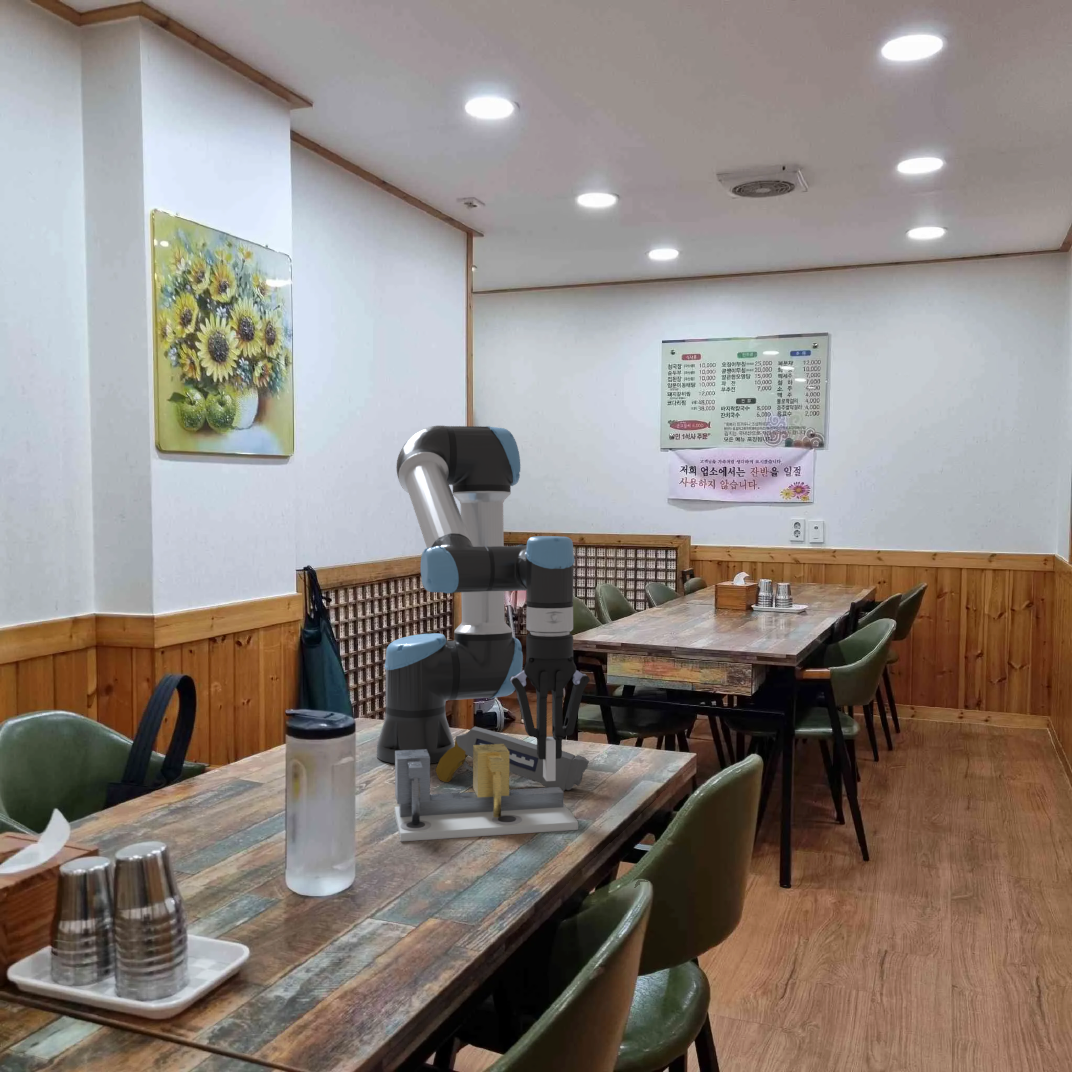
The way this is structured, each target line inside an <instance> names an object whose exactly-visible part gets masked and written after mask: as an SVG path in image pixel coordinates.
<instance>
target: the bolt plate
mask: <svg viewBox="0 0 1072 1072" xmlns="http://www.w3.org/2000/svg"><path fill="white" fill-rule="evenodd" d="M394 817H395V822H396V826H397V831H398V836H399V840H400V842H412V841H413V842H414V841H426V840H445V839H457V838H459V839H460V838H474V837H487V836H488V837H489V836H504V835H506V836H507V835H517V834H518V835H519V834H531V833H533V834H535V833H547V832H549V833H550V832H551V833H552V832H564V831H577V830H579V821H578V820H577V819H576V818H575V816H574V814H573V813H572V812H571V811H570V809H569V808H568V807H567V806H566V804H565V803H563V807H558V808H542V809H526V810H509V811H501V817H493V812H477V813H460V814H444V815H428V816H420V823H418V824H413V823H412V816H411V817H400V814H399V805H398V806H394Z"/></svg>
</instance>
